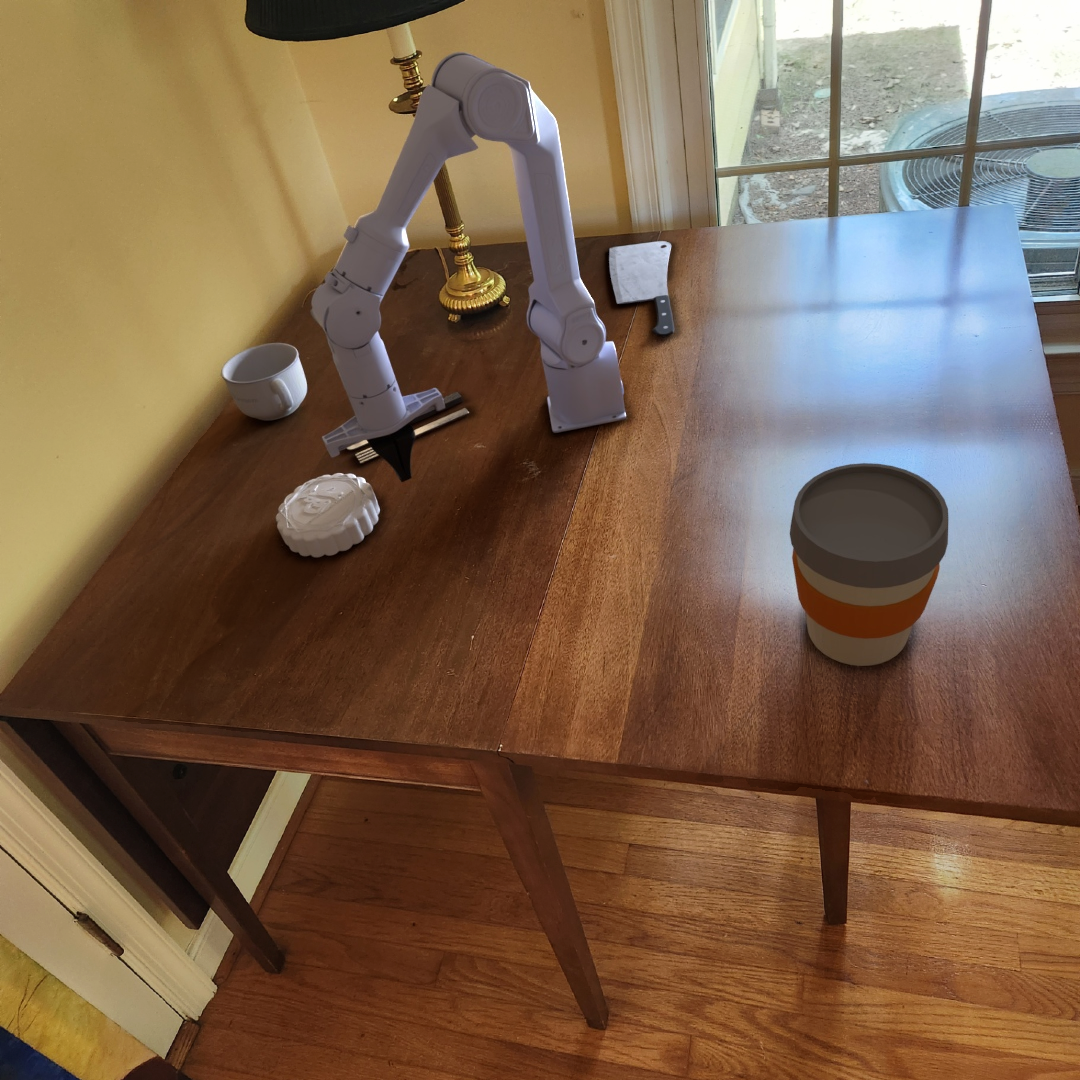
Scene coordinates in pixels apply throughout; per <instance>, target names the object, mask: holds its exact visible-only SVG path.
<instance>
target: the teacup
mask: <svg viewBox="0 0 1080 1080" xmlns="http://www.w3.org/2000/svg"><path fill="white" fill-rule="evenodd" d="M299 355H300V354H299V351H298V350H297V348H296V347H295V346H294V345H291V344H288V343H284V342H283V343H282V342H272V343H271V342H270V343H263V344H260V345H256V346H252V347H249V348H246V349H244V350H242V351H240V352H238V353H236V354H234V355H233V356H232V357H230V358H229V359H228V360H227V361H226V362H225V363H224V364H223V366H222V367H221V371H220V375H221V377H222V379H223V380H224V382H225V384H226V387H227V390H228V391H229V393H230V396H231V398H232V400H233V402H234V403H235V405H236V407H237V408H238V409H239V411H241V413H243V414H244V415H246V416H248V417H250V418H253V419H257V420H260V421H275V420H279V419H280V420H281V419H283V418H285V417H287V416H290V415H291V414H293V413H294V412H295V411H296V410H297V409H298V408H299V407H300V406H301V404H302V402H303V401H304V400H305V398H306V396H307V393H308V384H307V383H308V382H307V379H306V375H305V372H304V369H303V365H302V363H301V360H300V357H299Z"/></svg>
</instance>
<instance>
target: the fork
mask: <svg viewBox="0 0 1080 1080" xmlns="http://www.w3.org/2000/svg"><path fill="white" fill-rule="evenodd" d="M469 415H470V411H468V409H467V408H466V407H464V408H462V409H459V410H457V411H455V412H452V413H450V414H448V415H446V416H443V417H441V418H439V419H437V420H434V421H432V422H430V423H427V424H424V425H423V426H421V427H418V428H415V429H414V431H415V439H418V438H420V437H421V436H423V435H426V434H428V433H431V432H433V431H436V430H438V429H440V428H442V427H444V426H446V425H449V424H451V423H453V422H456V421H458V420H460V419H462V418H464V417H467V416H469ZM354 456H355V458H356V459H357V461H358V462H359V464H360V465H364V464H366V463H369V462H371V461H373V460H375V459H377V458H381V456H379V455H378V454H377V453H376V452H375V451H374V450H373V449H372V447H371V446H370V447H368V448H366V449H364V450H362V451H360V452H356V453H355V454H354Z"/></svg>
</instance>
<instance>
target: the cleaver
mask: <svg viewBox="0 0 1080 1080" xmlns="http://www.w3.org/2000/svg"><path fill="white" fill-rule="evenodd" d="M671 249H672V244H671V243H670V242H667V241H665V240H659V241H652V242H651V241H650V242H643V243H642V242H641V243H636V244H628V245H621V246H620V245H619V246H613V247H609V253H608V254H609V255H608V261H609V262H608V263H609V274H610V278H611V279H610V281H611V285H612V289H613V293H614V297H615V301H616V304H617V305H618V304H619V305H624V304H631V303H639V302H640V303H641V302H647V301H654V306H655V312H656V325H655V327H654V328H652V332H653V333H654V334H655V335H656V336H657V337H659V338H667V337H670V336H671V335H673V334H674V332H675V330H676V329H675V323H674V317H673V311H672V307H671V301H670V300H671V299H670V296H669V291H668V289H669V288H668V266H669V261H670V260H669V259H670V254H671Z"/></svg>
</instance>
